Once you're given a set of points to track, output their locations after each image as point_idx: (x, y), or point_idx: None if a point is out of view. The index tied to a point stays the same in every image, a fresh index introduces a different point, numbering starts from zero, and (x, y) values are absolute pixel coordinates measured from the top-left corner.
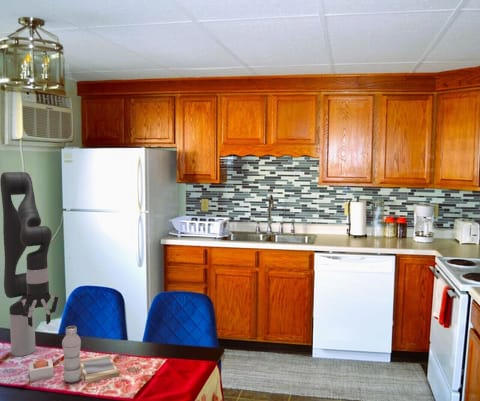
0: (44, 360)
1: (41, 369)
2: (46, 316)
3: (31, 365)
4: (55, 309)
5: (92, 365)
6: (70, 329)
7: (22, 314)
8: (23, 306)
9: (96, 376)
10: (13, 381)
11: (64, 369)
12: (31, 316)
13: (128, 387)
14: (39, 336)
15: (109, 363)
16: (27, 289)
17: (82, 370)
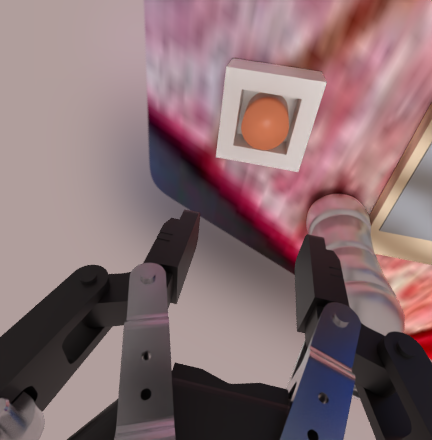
0: (283, 119)
1: (256, 163)
2: (297, 320)
3: (231, 107)
4: (392, 400)
5: None
6: (356, 397)
7: (82, 321)
8: (42, 390)
9: (391, 254)
10: (174, 103)
11: (312, 234)
12: (170, 300)
13: (419, 311)
14: None
15: None
16: None
17: (388, 194)
